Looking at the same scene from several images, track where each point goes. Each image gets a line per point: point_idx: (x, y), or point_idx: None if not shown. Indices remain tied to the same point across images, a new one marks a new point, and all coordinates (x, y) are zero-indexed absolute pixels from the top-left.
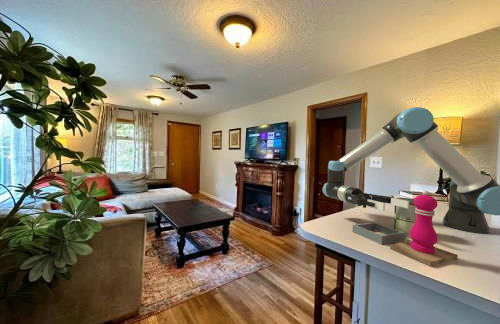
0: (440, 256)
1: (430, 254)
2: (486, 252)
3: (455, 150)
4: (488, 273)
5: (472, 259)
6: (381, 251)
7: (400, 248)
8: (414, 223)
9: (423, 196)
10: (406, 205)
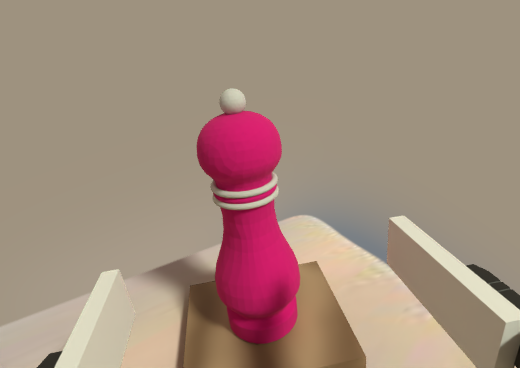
0: None
1: None
2: (30, 326)
3: None
4: (208, 254)
5: (148, 296)
6: (420, 353)
7: (344, 325)
8: None
9: (257, 113)
10: (127, 305)
